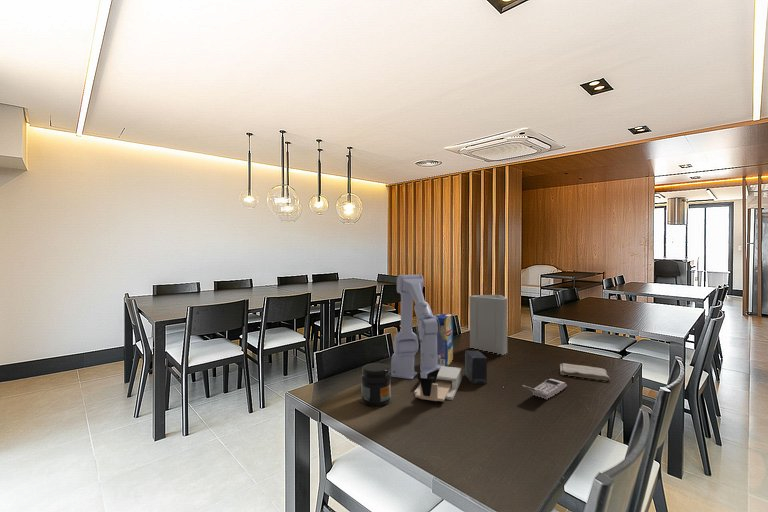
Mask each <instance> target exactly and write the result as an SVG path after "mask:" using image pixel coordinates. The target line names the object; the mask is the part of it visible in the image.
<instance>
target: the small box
mask: <svg viewBox="0 0 768 512" xmlns="http://www.w3.org/2000/svg"><path fill="white" fill-rule="evenodd" d="M487 362H488V358H487V357H486V356H485V355H484V354H483V353H482V351H479V350H464V376H465V377H466V378H467V380H468V382H470V383H471V384H472V385H474V384H475V385H476V384H478V385H479V384H482V385H483V384H484V385H485V384H487V382H488V381H487V379H488V377H487V375H488V373H487V372H488V371H487V370H488V369H487V368H488V363H487Z"/></svg>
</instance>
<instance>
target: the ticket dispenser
mask: <svg viewBox="0 0 768 512" xmlns="http://www.w3.org/2000/svg"><path fill="white" fill-rule="evenodd" d="M462 373H463V372H462V367H455V366H447V367H446V366H441V369H440V370H439V372H438V375H437V379H436V381H443V382H451V383H452V386H451V388H450V390H449V392H448V394H447V396H446V398H445V400H449V401H453V400H454V398H455V395H456V393H457V391H458V388H459V387H460V385H461V382H462V380H463V379H462ZM419 374H421V372H420V373H419ZM419 389H420V384H419V385H418V386H417V388H416V389H415V390H414V392H413V395H414V396H415V395H416V393H417V392H418V391H419Z"/></svg>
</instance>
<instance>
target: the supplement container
mask: <svg viewBox="0 0 768 512" xmlns="http://www.w3.org/2000/svg"><path fill="white" fill-rule="evenodd" d="M361 372H362V375H361V376H360V383H361V386H360V388H361V389H360V390H361V393H360V395H361V396H360V400H361V402H362V403H363V404H364V405H366V406H369V407H381V406H382V407H383V406H385V405H387V404H389V403H390V401H391V399H392V395H391V393H392V391H391V388H392V387H391V386H392V385H391V381H392V379H391V378H392V377H391V374H390V367H389V365H388V364H385V363H381V362H374V363H367V364H365V365H363V366H362V368H361Z"/></svg>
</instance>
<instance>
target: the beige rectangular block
mask: <svg viewBox="0 0 768 512" xmlns="http://www.w3.org/2000/svg"><path fill="white" fill-rule="evenodd" d="M419 385H420V389H419V391H418V392H417V393H416V395H414V397H415V398H418V399H420V400H427V401H433V402H438V401H439V402H445V400H446V399H445V398H446V396H447V394H448V392H449V390H450V388H451V386H452V383H451V382H443V381H436V384H435V383H432V387H431V394H430V396H424V395H423V391H422V387H421V384H420V383H419Z"/></svg>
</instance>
